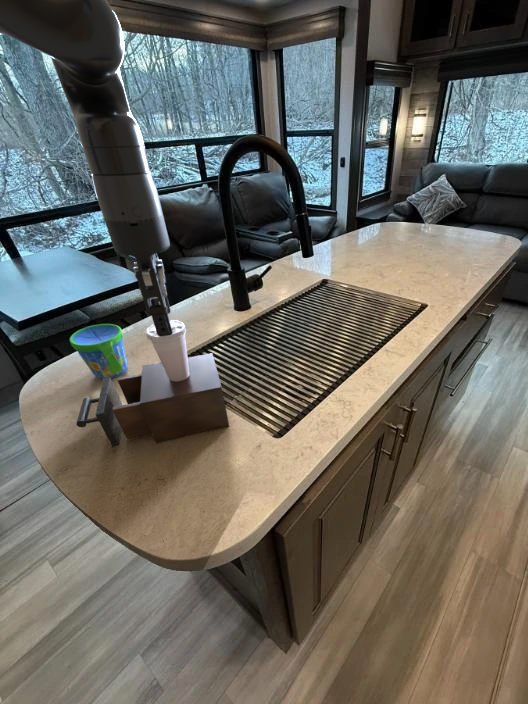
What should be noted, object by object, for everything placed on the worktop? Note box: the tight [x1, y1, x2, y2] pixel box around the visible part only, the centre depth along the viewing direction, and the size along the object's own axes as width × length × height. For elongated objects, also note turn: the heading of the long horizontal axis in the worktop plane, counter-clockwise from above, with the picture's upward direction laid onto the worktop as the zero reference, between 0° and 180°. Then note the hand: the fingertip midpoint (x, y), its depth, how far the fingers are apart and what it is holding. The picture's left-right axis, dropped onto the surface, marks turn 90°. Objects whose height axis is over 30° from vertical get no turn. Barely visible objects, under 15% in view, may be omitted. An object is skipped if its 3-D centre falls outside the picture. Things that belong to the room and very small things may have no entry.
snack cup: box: [69, 323, 129, 380], centre depth 77 cm, size 16×10×10 cm
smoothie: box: [145, 301, 190, 381], centre depth 57 cm, size 6×6×14 cm
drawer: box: [75, 373, 153, 448], centre depth 62 cm, size 17×11×8 cm
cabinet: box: [140, 353, 230, 444], centre depth 65 cm, size 14×13×10 cm
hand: (165, 323), depth 55 cm, fingers open, 8 cm apart
